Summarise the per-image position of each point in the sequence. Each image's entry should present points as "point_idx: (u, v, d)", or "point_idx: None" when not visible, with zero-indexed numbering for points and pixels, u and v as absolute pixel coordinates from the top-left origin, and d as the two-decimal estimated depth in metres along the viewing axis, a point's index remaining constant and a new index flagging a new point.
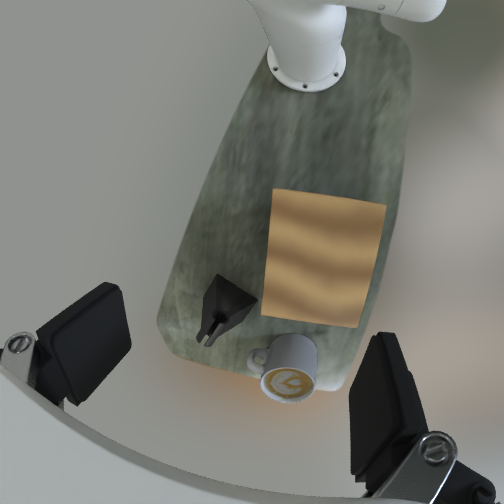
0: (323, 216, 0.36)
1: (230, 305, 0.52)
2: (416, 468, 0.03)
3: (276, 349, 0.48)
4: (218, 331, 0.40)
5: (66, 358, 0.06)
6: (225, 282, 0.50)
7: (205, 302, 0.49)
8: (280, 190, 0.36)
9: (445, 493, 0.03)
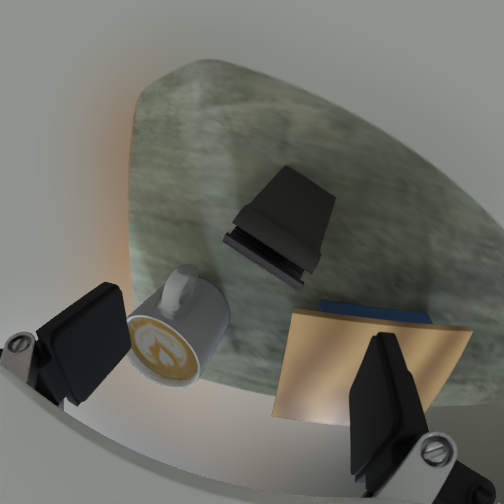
0: (426, 382, 0.23)
1: None
2: (416, 468, 0.03)
3: (208, 310, 0.29)
4: (275, 274, 0.18)
5: (66, 358, 0.06)
6: None
7: (288, 182, 0.24)
8: (468, 340, 0.20)
9: (445, 493, 0.03)
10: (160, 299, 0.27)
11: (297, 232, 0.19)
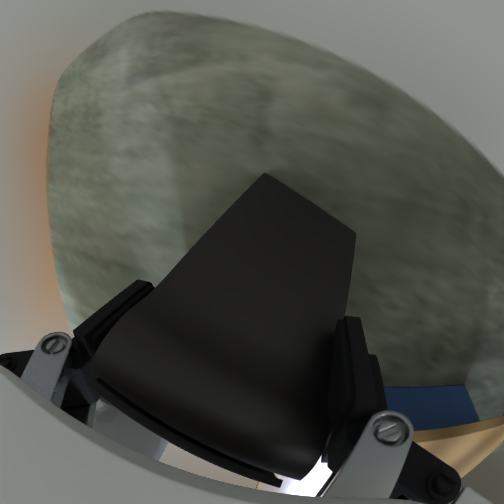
0: None
1: None
2: (371, 449, 0.04)
3: None
4: None
5: None
6: None
7: (266, 212, 0.12)
8: None
9: (402, 476, 0.03)
10: None
11: (275, 359, 0.07)
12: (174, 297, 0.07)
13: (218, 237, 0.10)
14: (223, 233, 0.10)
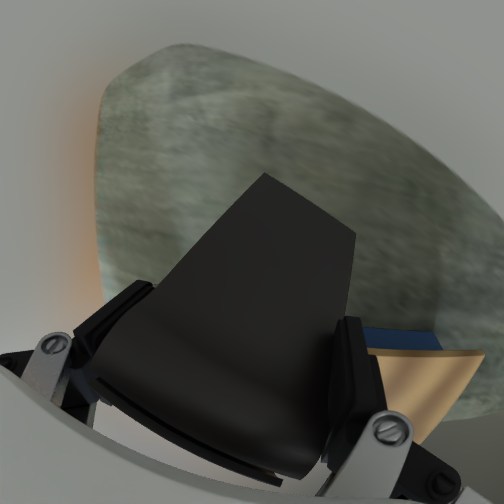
0: (431, 409, 0.19)
1: None
2: (371, 449, 0.04)
3: None
4: None
5: None
6: None
7: (266, 212, 0.12)
8: (479, 364, 0.17)
9: (402, 476, 0.03)
10: None
11: (275, 359, 0.07)
12: (174, 297, 0.07)
13: (218, 237, 0.10)
14: (223, 233, 0.10)
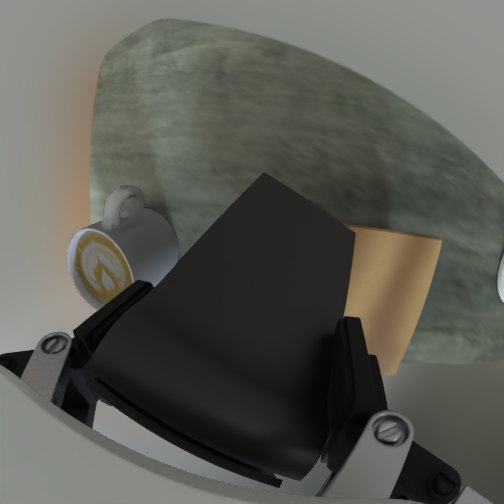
0: (396, 309, 0.23)
1: None
2: (371, 449, 0.04)
3: (150, 232, 0.28)
4: None
5: None
6: None
7: (266, 211, 0.12)
8: (438, 251, 0.20)
9: (402, 476, 0.03)
10: None
11: (275, 359, 0.07)
12: (173, 297, 0.07)
13: (217, 237, 0.10)
14: (222, 233, 0.10)
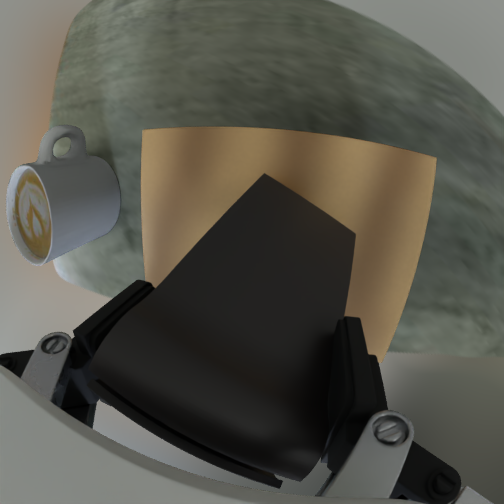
0: (379, 259, 0.16)
1: None
2: (371, 449, 0.04)
3: (85, 172, 0.22)
4: None
5: None
6: None
7: (266, 212, 0.12)
8: (433, 173, 0.14)
9: (402, 476, 0.03)
10: None
11: (275, 360, 0.07)
12: (174, 298, 0.07)
13: (218, 238, 0.10)
14: (223, 234, 0.10)
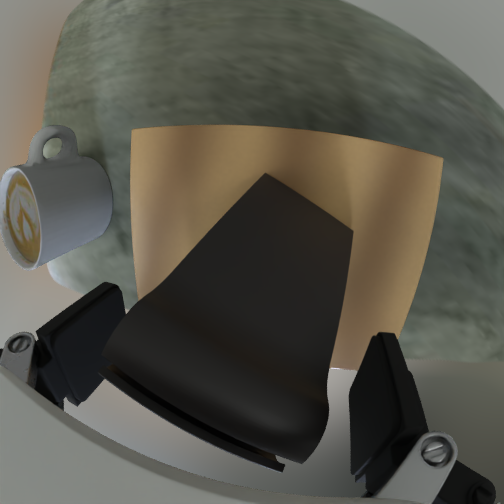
0: (382, 265, 0.15)
1: None
2: (416, 468, 0.03)
3: (76, 174, 0.21)
4: None
5: (66, 358, 0.06)
6: None
7: (267, 210, 0.12)
8: (439, 174, 0.13)
9: (445, 493, 0.03)
10: None
11: (277, 347, 0.08)
12: (182, 288, 0.08)
13: (222, 233, 0.10)
14: (227, 229, 0.10)
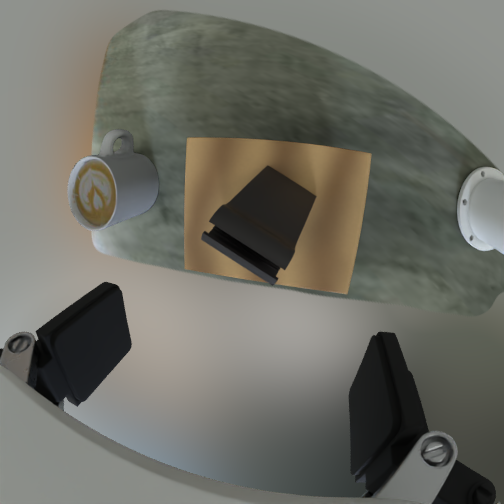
0: (336, 217, 0.28)
1: None
2: (416, 468, 0.03)
3: (136, 164, 0.33)
4: (250, 270, 0.19)
5: (66, 358, 0.06)
6: None
7: (268, 182, 0.25)
8: (369, 163, 0.25)
9: (445, 493, 0.03)
10: None
11: (273, 230, 0.20)
12: (235, 206, 0.20)
13: (248, 189, 0.22)
14: (250, 188, 0.23)
